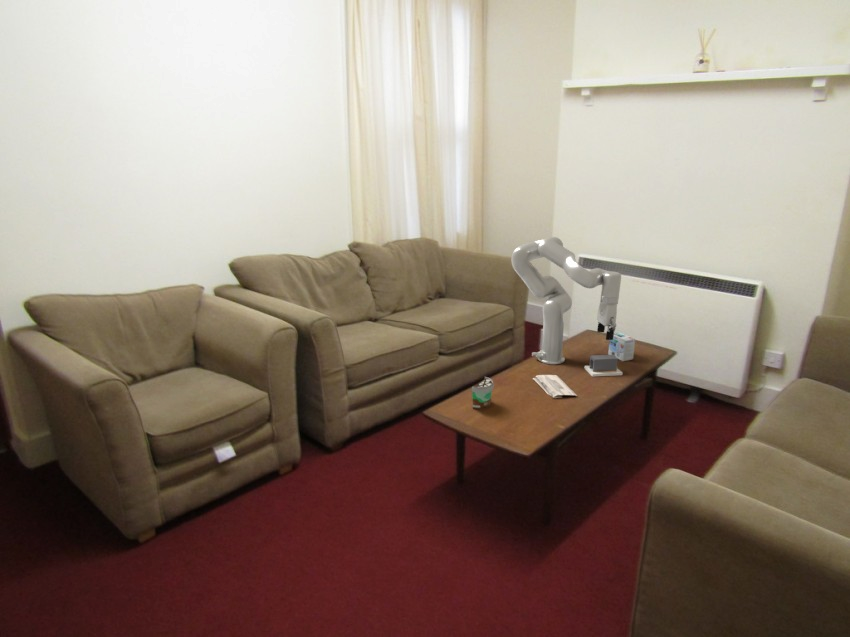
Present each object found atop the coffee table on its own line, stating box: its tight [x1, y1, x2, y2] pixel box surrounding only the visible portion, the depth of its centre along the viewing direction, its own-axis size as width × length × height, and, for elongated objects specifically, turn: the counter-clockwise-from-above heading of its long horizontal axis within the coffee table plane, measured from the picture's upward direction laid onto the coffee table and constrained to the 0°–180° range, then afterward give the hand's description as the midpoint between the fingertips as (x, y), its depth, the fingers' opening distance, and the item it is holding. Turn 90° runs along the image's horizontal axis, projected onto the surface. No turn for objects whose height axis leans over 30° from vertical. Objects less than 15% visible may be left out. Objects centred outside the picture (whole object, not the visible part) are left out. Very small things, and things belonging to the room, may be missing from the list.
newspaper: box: [532, 374, 578, 399], centre depth 245 cm, size 23×12×2 cm, turn 9°
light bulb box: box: [607, 332, 636, 362], centre depth 277 cm, size 11×7×11 cm, turn 25°
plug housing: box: [588, 354, 619, 372], centre depth 259 cm, size 11×5×6 cm, turn 96°
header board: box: [583, 365, 623, 378], centre depth 260 cm, size 14×10×5 cm
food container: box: [471, 376, 495, 410], centre depth 227 cm, size 12×6×10 cm, turn 148°
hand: (604, 335), depth 256 cm, fingers open, 9 cm apart
